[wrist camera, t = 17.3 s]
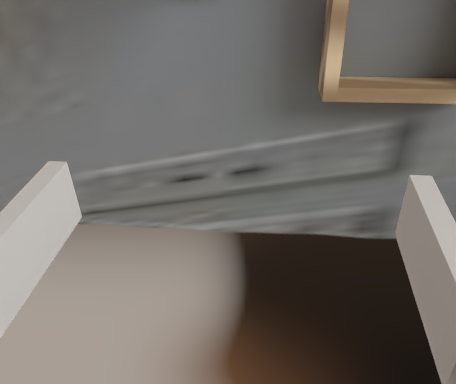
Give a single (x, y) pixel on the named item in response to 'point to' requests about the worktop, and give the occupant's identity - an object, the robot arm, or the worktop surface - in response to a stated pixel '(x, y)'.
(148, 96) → the worktop surface
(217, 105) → the worktop surface
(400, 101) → the holder
